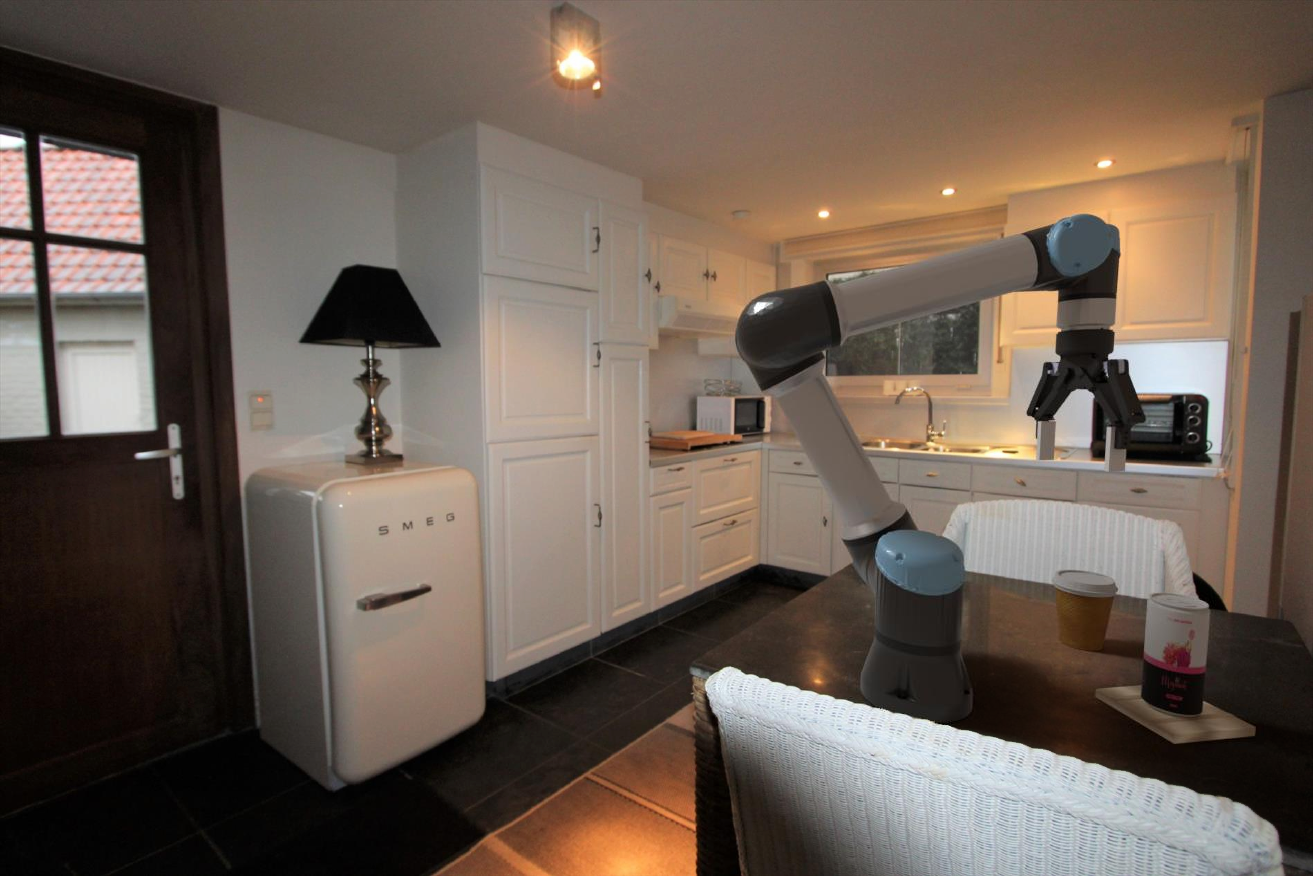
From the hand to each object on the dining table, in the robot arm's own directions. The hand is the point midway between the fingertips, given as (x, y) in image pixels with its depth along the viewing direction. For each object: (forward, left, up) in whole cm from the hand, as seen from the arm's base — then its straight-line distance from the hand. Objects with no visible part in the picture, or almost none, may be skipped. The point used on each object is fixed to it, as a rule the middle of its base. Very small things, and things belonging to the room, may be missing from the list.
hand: (1077, 465), depth 99 cm
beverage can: (+2, -16, -32) cm, 35 cm away
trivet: (+2, -16, -33) cm, 36 cm away
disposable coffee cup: (+9, +7, -33) cm, 35 cm away
